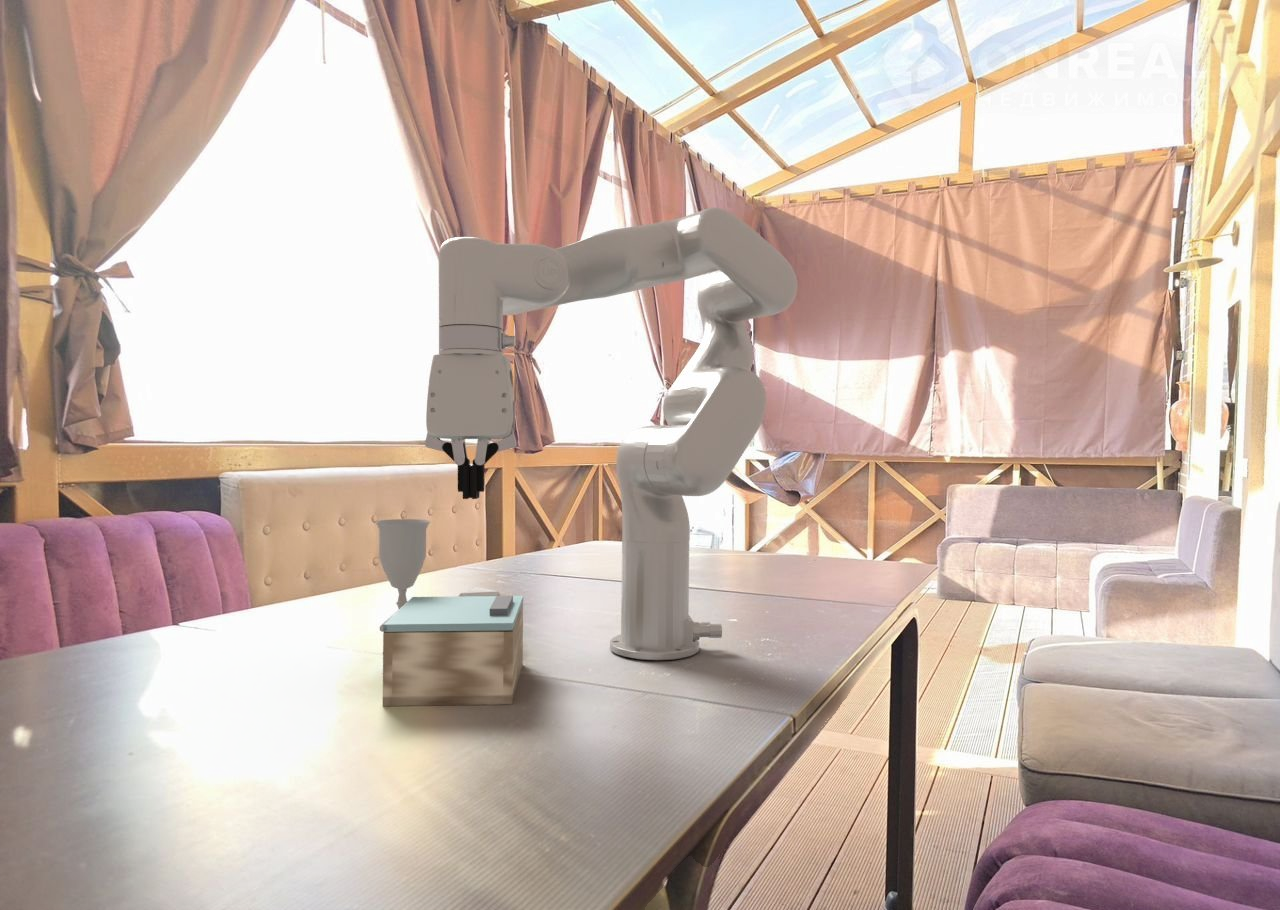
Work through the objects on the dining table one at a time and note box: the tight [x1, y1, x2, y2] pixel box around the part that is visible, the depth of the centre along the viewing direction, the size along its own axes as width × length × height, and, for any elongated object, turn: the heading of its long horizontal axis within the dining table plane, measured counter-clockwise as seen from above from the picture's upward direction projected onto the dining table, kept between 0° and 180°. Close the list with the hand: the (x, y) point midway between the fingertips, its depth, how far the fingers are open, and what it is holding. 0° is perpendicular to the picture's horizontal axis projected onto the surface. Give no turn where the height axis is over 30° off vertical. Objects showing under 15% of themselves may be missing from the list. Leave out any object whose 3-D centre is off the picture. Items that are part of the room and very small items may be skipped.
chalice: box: [375, 518, 431, 610], centre depth 108 cm, size 7×7×18 cm
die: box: [457, 586, 502, 597], centre depth 112 cm, size 8×9×10 cm
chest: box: [382, 603, 524, 707], centre depth 94 cm, size 14×16×8 cm
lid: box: [379, 595, 524, 633], centre depth 94 cm, size 14×16×2 cm
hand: (471, 497), depth 94 cm, fingers closed
